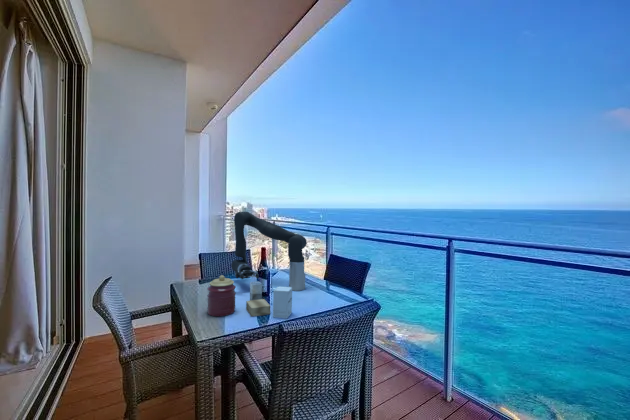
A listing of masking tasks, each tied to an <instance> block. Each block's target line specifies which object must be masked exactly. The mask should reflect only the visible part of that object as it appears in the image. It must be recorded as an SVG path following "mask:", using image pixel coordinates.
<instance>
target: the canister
mask: <svg viewBox="0 0 630 420" xmlns="http://www.w3.org/2000/svg"><path fill="white" fill-rule="evenodd" d="M234 283H235V281H234V280H232V279H231V278H228V277H225V276H224V275H223V274H221V275H219V277H218V278H215V279H212V281H210V282H209V284H208V285H209V286H208V287H207V291H208V293H207V295H206V296H207V307H206V311H207V314H208V315H209V316H210V317H211V316H212V317H224V316H225V317H226V316H229V315H231V314H233V313H234V312H235V310H236V294H237V293H236V291H235V289H236V285H235V284H234Z"/></svg>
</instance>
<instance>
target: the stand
mask: <svg viewBox="0 0 630 420" xmlns="http://www.w3.org/2000/svg"><path fill="white" fill-rule="evenodd" d="M245 301H246V305H245V310H246V311H247V313H248V314H249V315H250V318H252V317H254V318H255V317H259V316H267V315H270V314H271V305H270V303H268V301H267V300H266V299H265V298H262V299H259V300H251V301H250V300H245Z"/></svg>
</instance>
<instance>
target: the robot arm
mask: <svg viewBox="0 0 630 420" xmlns="http://www.w3.org/2000/svg"><path fill="white" fill-rule="evenodd" d="M233 222H234V223H233V224H234V231H235V232H234V233H235V249H234V250H235V251H234V256H235V257H238V258H241V259H234V260H232V261H231V264H230V266H231V267H230V268H231V269H232V271H233V272H234V273H235V274H234V277H235V278H236V279H240V280H244V279H248V278H256V279H259V278H260V277H259V274H258V271H259V270H258V269H256V270H253V269H252V267H251V266H249V264H248V260H247V241H246V238H245V233H244V232H245V231H244V229H245V226H248V227H252V228H254V229H256V230H257V231H258V232H259V233H260V234H261V235H263V236H265V237H267V238H269V239H272V240H276V241H281V242H285V243H287V244H288V245H287V248H288V249H287V251H288V253H287V254H288V258H289V271H288V273H289V275H288V277H289V280H288V281H289V282H288V287H292V292H295V291H296V292H299V291H304V290H306V273H305V256H303V249H304V248H305V247H306V246H307V242H308V241H307V239H306V237H305V236H304V235H301V234H298V233H295V232H292V231H289V230H287V229H285V228H283V227H281V226H279V225H277V224H275V223H272V222H271V221H267V220H265V219H262V218H259V217H258V216H256V215H254V213H253V214H252V213H250V212H249V211H238V212H236V213H235V215H234V217H233ZM257 270H258V271H257Z"/></svg>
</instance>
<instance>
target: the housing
mask: <svg viewBox="0 0 630 420" xmlns="http://www.w3.org/2000/svg"><path fill="white" fill-rule="evenodd" d="M262 294H263V283H262V282H260V281H259V280H258V281H257V280H256V281H250V282H249V301H251V300H259V299H263V295H262Z"/></svg>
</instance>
